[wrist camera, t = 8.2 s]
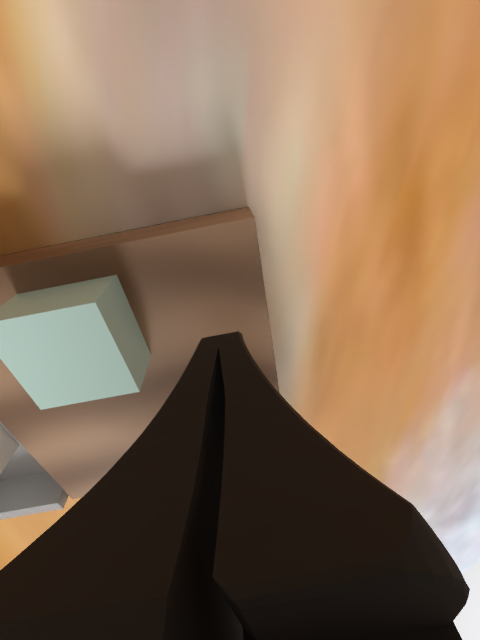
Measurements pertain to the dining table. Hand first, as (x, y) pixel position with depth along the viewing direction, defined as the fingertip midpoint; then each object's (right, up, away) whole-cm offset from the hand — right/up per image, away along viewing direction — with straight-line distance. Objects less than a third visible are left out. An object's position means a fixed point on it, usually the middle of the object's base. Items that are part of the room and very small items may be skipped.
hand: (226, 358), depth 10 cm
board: (-5, -2, +9) cm, 10 cm away
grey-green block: (-7, +1, +4) cm, 8 cm away
